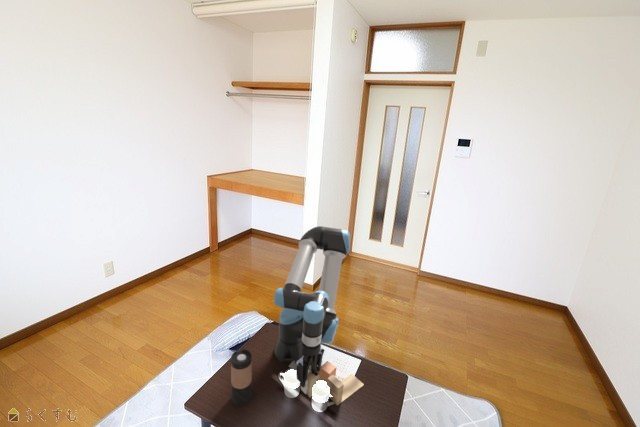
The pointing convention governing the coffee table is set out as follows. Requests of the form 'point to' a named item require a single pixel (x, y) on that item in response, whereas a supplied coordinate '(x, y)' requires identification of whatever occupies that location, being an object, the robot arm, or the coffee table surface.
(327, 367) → the cube
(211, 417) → the coffee table surface
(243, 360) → the travel mug
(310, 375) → the wooden slider
